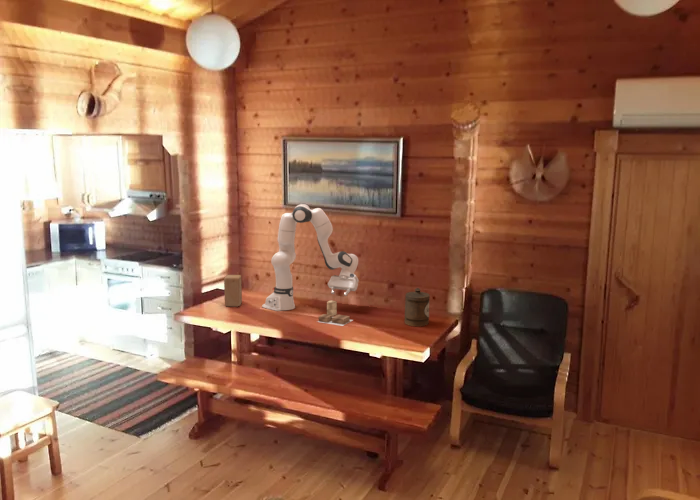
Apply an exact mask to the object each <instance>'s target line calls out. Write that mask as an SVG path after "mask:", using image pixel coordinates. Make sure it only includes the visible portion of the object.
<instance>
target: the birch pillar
mask: <svg viewBox="0 0 700 500" xmlns="http://www.w3.org/2000/svg"><path fill="white" fill-rule="evenodd" d="M337 304H338V303H337V300H328V301H326V314H327V315H332V317H334V316H336V315H338V312H337V309H338V305H337Z"/></svg>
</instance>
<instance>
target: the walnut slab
mask: <svg viewBox="0 0 700 500" xmlns="http://www.w3.org/2000/svg"><path fill="white" fill-rule="evenodd" d="M350 317H351V316H350V315H345V314H344V315H343V314H338V313H337V315H335V316H332V323H338V324H345V323H347V322H349V321H350V320H351V318H350ZM349 323H350V322H349ZM347 324H348V323H347ZM345 325H346V324H345Z"/></svg>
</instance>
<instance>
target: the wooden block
mask: <svg viewBox="0 0 700 500" xmlns="http://www.w3.org/2000/svg"><path fill="white" fill-rule="evenodd" d="M242 282H243V281H242V274H227V275H226V276H225V277H224V278H223V286H224V287H223V289H224V291H223V292H224V306H225V307H230V308H231V307H238V306H239V307H240V306H241V305H242V303H243V292H242V291H243V290H242V287H243V286H242Z"/></svg>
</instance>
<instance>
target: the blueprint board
mask: <svg viewBox="0 0 700 500" xmlns="http://www.w3.org/2000/svg"><path fill="white" fill-rule="evenodd" d="M352 321H354V319H350V321H349V322H347V323H345V324H338V323H332V320H331V321H329V322H321V321H319V320H317V321H316V323H317V322H318V323H320V324H321V323H323V324H328V325H335V326H341V327H343V326H345V325H347V324H350V323H351V322H352Z"/></svg>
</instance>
